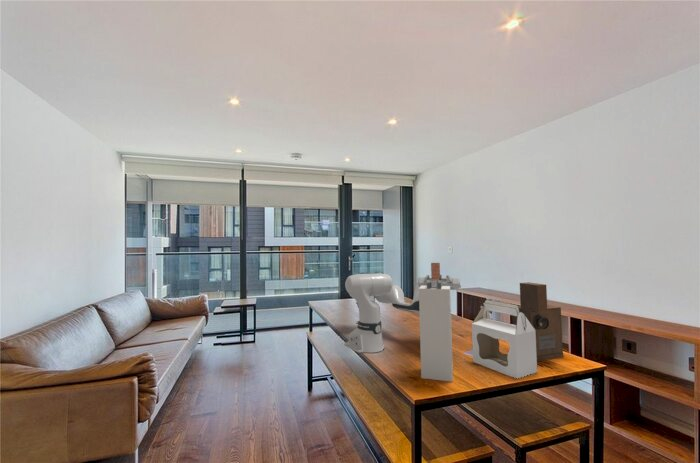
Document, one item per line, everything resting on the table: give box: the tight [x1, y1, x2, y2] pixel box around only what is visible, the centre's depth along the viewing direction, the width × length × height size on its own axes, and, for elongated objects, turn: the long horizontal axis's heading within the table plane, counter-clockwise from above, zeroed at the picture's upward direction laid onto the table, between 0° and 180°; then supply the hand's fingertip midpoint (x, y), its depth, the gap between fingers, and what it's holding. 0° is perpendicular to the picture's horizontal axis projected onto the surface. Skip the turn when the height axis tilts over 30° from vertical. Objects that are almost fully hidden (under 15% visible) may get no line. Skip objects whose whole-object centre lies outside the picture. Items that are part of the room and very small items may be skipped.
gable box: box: [471, 299, 538, 380], centre depth 138 cm, size 22×13×28 cm, turn 28°
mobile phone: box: [463, 348, 473, 357], centre depth 157 cm, size 8×1×15 cm
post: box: [419, 280, 454, 383], centre depth 131 cm, size 10×12×38 cm
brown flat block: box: [430, 262, 443, 288], centre depth 142 cm, size 26×4×10 cm, turn 161°
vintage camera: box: [512, 281, 565, 362], centre depth 149 cm, size 19×14×35 cm
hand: (437, 276), depth 152 cm, fingers open, 8 cm apart
